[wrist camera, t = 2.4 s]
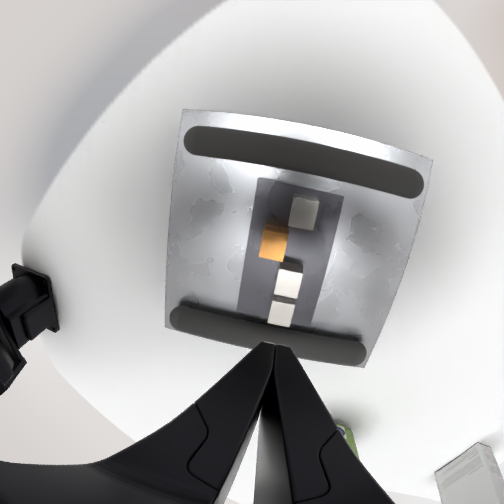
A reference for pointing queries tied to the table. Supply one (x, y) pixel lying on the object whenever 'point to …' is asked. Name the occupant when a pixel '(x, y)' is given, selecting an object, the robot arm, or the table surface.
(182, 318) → the dark grey rounded rod
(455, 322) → the table surface
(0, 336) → the robot arm
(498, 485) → the skincare box
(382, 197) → the breaker panel
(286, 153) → the dark grey rounded bar
